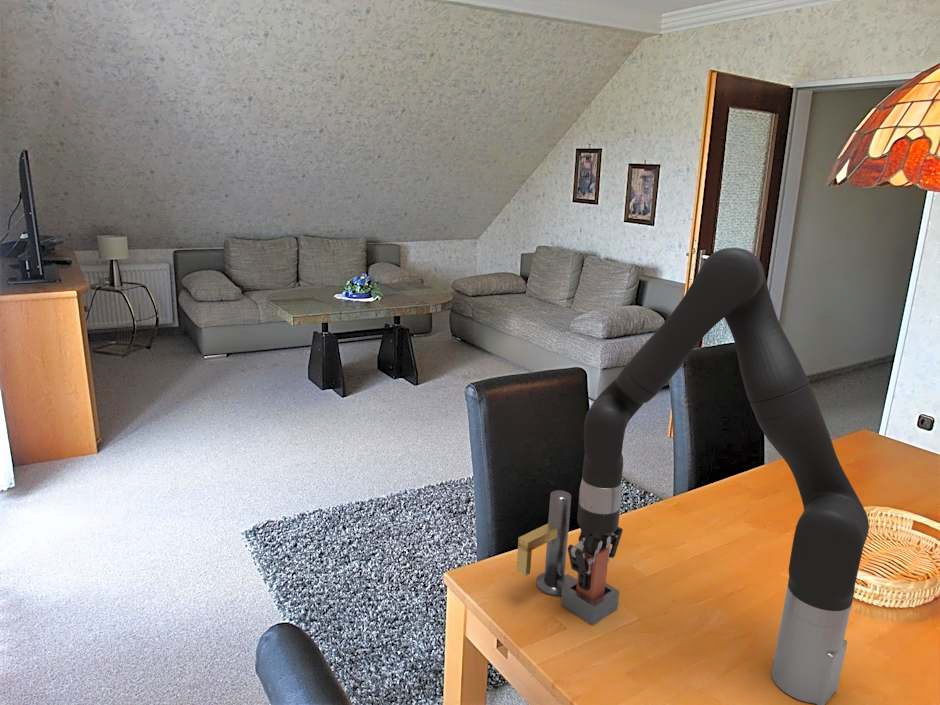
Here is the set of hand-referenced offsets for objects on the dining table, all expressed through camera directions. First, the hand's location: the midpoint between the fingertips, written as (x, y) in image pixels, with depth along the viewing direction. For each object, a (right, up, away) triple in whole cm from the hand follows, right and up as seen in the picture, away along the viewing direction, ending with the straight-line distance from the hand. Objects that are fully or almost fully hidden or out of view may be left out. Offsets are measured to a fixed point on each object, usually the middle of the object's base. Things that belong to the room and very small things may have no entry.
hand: (591, 583), depth 128 cm
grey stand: (-5, -5, +2) cm, 7 cm away
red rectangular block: (0, -3, +1) cm, 3 cm away
